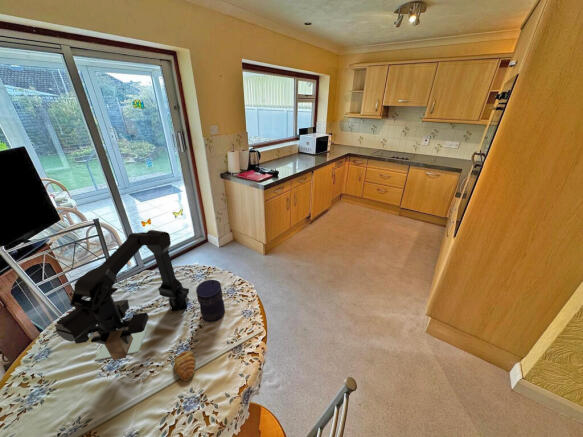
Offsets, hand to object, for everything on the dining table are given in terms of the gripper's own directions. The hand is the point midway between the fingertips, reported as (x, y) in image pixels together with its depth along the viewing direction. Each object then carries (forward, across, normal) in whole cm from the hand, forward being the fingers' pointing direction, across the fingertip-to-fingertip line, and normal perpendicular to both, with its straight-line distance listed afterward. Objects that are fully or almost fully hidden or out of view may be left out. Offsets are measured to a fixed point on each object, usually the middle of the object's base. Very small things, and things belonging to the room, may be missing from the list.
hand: (121, 343), depth 77 cm
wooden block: (+3, 0, 0) cm, 3 cm away
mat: (+11, +6, -10) cm, 16 cm away
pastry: (+11, -19, +5) cm, 23 cm away
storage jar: (+11, -27, -16) cm, 33 cm away
